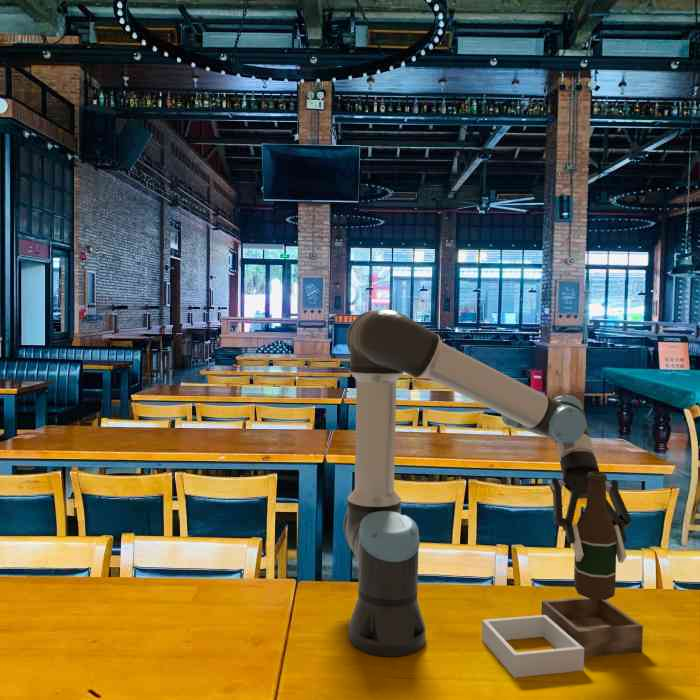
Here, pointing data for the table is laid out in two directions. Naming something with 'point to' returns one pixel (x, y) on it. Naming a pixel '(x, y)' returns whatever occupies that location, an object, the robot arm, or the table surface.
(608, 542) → the beer bottle
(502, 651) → the white corral
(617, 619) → the wooden bin
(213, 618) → the table surface
